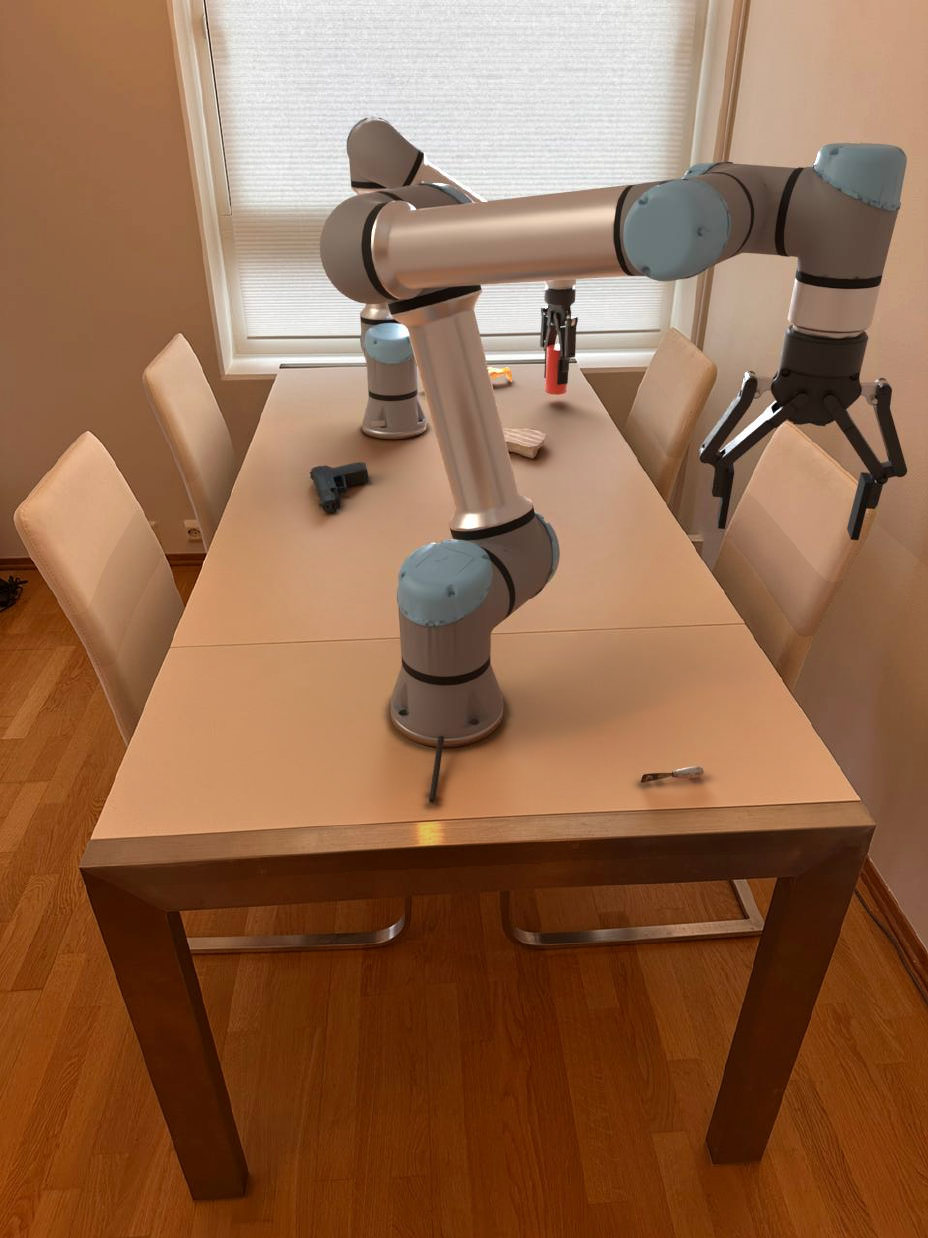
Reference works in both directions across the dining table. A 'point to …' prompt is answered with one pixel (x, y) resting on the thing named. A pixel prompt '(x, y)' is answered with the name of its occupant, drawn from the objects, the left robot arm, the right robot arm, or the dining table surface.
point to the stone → (524, 441)
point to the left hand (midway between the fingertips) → (555, 380)
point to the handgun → (336, 482)
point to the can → (553, 371)
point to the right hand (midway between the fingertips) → (785, 529)
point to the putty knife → (674, 774)
